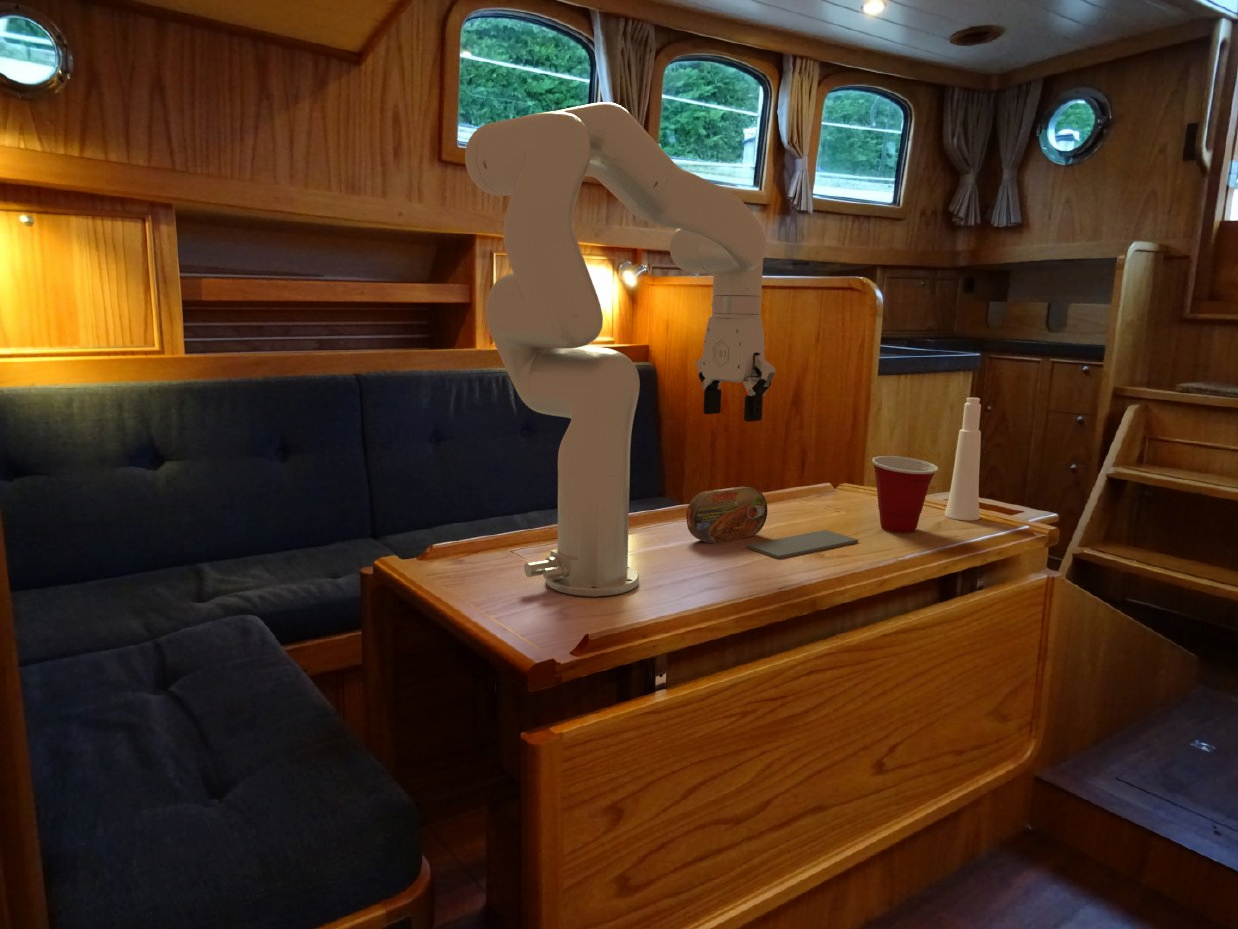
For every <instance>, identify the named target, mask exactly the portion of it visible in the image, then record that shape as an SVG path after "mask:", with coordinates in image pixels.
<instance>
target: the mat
mask: <svg viewBox="0 0 1238 929" xmlns="http://www.w3.org/2000/svg"><path fill="white" fill-rule="evenodd" d="M858 543H859V539H857V538H855V537H851V536H848V535H844V534H840V533H838V532H835V531H830V530H827V529H823V530H817V531H813V532H807V533H802V534H797V535H796V534H795V535H791V536H786V537H780V538H776V539H775V538H774V539H770V540H763V541H758V542H754V543H749V544H746V547H745V548H746V549H748V550H751V551H754V552H758V553H761V554H763V555H766V556H768V557H772V558H775V559H778V560H779V559H783V558H784V559H785V558H789V557H793V556H799V555H804V554H809V553H813V552H818V551H824V550H828V549H832V548H838V547H843V546H849V545H853V544H858Z"/></svg>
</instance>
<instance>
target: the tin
mask: <svg viewBox="0 0 1238 929" xmlns="http://www.w3.org/2000/svg"><path fill="white" fill-rule="evenodd" d="M689 502H690V503H689V504H688V506H687V508H686V509H687V510H686V524H687V529H688V531H689V533H690V535H691V536H693V537H694V538H695V539H696V540H697V539H698V540H699V541H702V542H704V543H706V544H709V545H710V544H718V543H719V544H720V543H724V542H730V541H736V540H737V541H738V540H741V539H748V538H752V537H754V536H755V535H757V534H758V533H759V532H760V531H761V530H762V528H763V527H764V525H765V523H766V522H767V517H768V502H767V500H766V497H765V496H764V494H763V493H762V492H761V491H760V490H759V489H757V488H755V487H751V486H748V487H747V486H736V487H729V488H727V487H726V488H722V489H721V488H720V489H713V490H712V489H711V490H704V491H702V492H698V494H696V495H695V496H694V497H693V498H692V499H691V501H689Z"/></svg>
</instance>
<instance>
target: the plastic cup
mask: <svg viewBox="0 0 1238 929" xmlns="http://www.w3.org/2000/svg"><path fill="white" fill-rule="evenodd" d="M871 461H872V464H873V467H874V473H875V480H876V481H875V482H876V493H877V506H878V507H877V508H878V510H879V511H878V512H879V522H880V523H879V524H880V528H881V529H882V530H883V531H887V532H890V533H897V534H910V533H912V534H913V533H915V532H916V530H917V528H918V525H919V522H920V521H919V520H920V516H921V514H922V510H923V507H924V503H925V500H926V496H927V492H928V489H929V486H930V484H931V482H932V479H933V477H934V475H935V473H937V472H938V470H939V468H938V466H937V465H935V464H934V463H931V462H928V461H926V460H921V459H917V458H912V457H905V456H894V455H882V456H880V455H879V456H875V457H872V460H871Z"/></svg>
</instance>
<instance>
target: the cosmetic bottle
mask: <svg viewBox="0 0 1238 929" xmlns="http://www.w3.org/2000/svg"><path fill="white" fill-rule="evenodd" d="M980 401H981V399H980V398H979V397H966V402H965V403H964V405H963V406H964V407H963V416H962V417H963V418H962V428H961V429H959V433H958V438H957V439H958V440H957V445H956V452H955V457H954V458H955V461H954V467H953V473H952V478H951V479H952V480H951V484H950V485H951V486H950V490H949V495H948V496H949V497H948V499H947V500H948V501H947V503H946V504H947V505H946V508H945V511H944V516H945V517H947V518H949V519H953V520H958V521H967V522H969V521H978V520H979V519H981V515H980V514H981V513H980V504H979V503H980V500H979V499H980V498H979V497H980V496H979V492H980V491H979V489H980V488H979V485H980V484H979V483H980V464H981V461H980V460H981V440H982V439H981V438H982V431H981V430H980V421H981V420H980V419H981V411H982V410H981V408H982V405H981V403H980Z"/></svg>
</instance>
